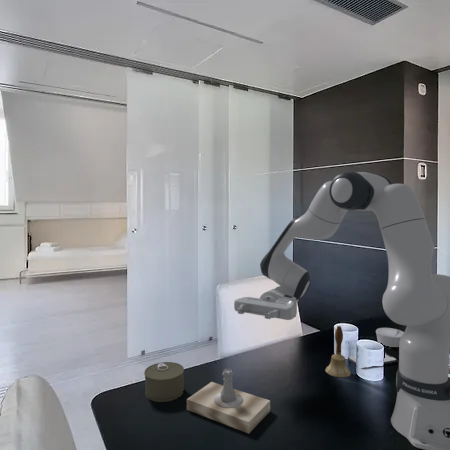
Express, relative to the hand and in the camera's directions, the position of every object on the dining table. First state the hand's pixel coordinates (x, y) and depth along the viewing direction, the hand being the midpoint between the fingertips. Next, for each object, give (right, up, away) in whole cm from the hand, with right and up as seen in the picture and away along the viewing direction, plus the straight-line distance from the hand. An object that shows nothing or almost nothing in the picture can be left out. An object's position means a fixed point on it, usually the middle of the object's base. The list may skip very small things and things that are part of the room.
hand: (252, 313), depth 112 cm
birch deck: (-8, -25, -10) cm, 27 cm away
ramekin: (+59, -22, +37) cm, 73 cm away
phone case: (+45, -23, +22) cm, 55 cm away
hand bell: (+30, -23, +13) cm, 40 cm away
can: (-27, -24, +1) cm, 37 cm away
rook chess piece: (-8, -21, -10) cm, 25 cm away
